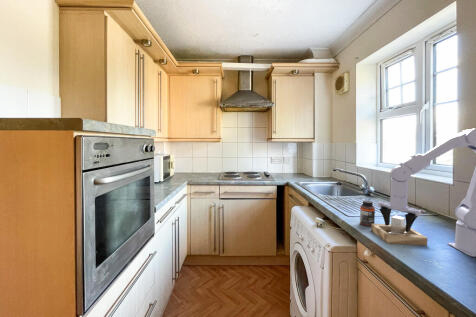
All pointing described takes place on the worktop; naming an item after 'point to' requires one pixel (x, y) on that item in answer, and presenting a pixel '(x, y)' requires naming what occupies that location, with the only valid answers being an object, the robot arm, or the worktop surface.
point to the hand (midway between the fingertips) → (397, 227)
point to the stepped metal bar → (397, 225)
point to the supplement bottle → (367, 213)
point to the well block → (398, 235)
